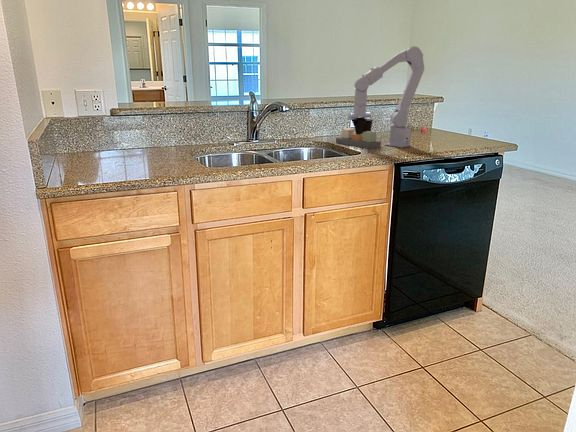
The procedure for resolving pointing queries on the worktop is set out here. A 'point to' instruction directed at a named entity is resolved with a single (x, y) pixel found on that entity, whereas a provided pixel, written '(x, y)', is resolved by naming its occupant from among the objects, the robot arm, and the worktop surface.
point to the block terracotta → (357, 137)
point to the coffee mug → (367, 125)
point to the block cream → (347, 133)
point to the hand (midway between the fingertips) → (358, 134)
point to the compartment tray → (358, 143)
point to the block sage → (369, 136)
